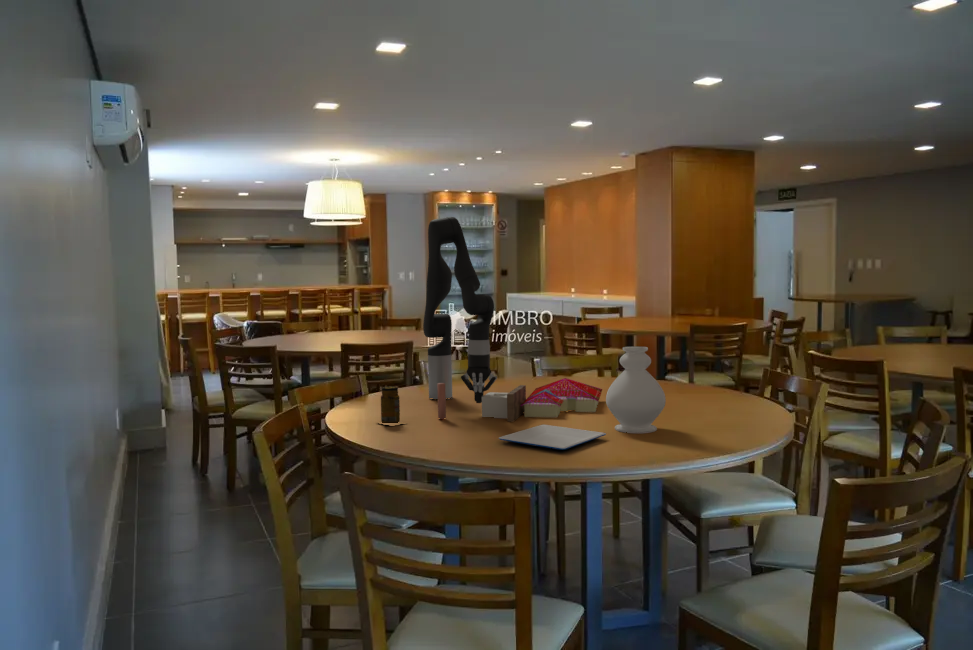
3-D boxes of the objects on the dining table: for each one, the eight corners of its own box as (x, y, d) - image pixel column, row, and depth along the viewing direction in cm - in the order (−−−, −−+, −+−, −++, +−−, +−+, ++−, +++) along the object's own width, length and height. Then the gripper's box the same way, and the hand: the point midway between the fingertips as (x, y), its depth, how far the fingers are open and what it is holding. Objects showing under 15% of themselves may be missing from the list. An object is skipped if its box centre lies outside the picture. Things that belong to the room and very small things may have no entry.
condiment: (394, 420, 245) (393, 385, 244) (408, 424, 238) (407, 387, 237) (375, 423, 240) (374, 387, 239) (389, 427, 233) (387, 390, 233)
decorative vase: (594, 429, 225) (593, 348, 223) (631, 421, 236) (630, 343, 234) (640, 438, 211) (640, 351, 209) (677, 429, 222) (677, 347, 221)
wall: (520, 410, 258) (520, 385, 258) (526, 410, 258) (525, 385, 257) (507, 421, 239) (506, 394, 238) (513, 421, 239) (512, 394, 238)
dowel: (439, 418, 247) (438, 383, 246) (447, 418, 246) (446, 383, 245) (437, 419, 244) (436, 384, 243) (444, 420, 243) (443, 384, 243)
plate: (542, 430, 225) (542, 423, 225) (606, 439, 211) (606, 432, 210) (497, 444, 207) (497, 437, 207) (564, 455, 193) (564, 447, 193)
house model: (596, 420, 240) (596, 389, 240) (520, 418, 246) (520, 388, 245) (602, 400, 278) (602, 373, 277) (536, 399, 283) (535, 373, 282)
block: (489, 412, 256) (489, 392, 256) (517, 412, 254) (517, 392, 253) (482, 417, 246) (481, 396, 246) (510, 418, 244) (510, 397, 243)
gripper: (500, 352, 252) (500, 401, 253) (463, 351, 256) (463, 400, 257) (494, 354, 245) (494, 405, 246) (457, 353, 248) (457, 403, 250)
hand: (478, 402), depth 251 cm, fingers closed
